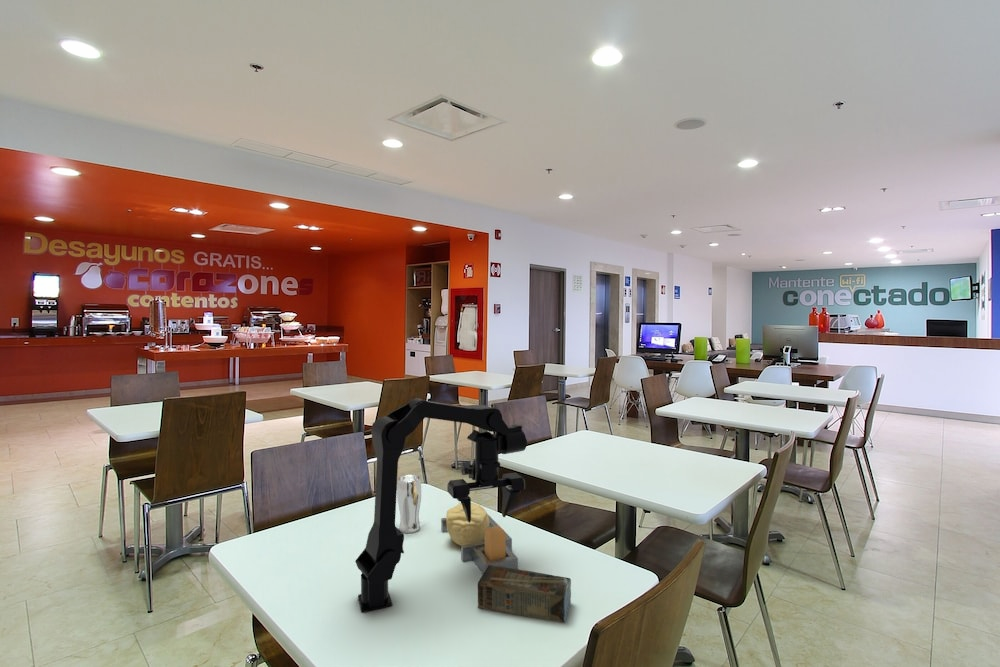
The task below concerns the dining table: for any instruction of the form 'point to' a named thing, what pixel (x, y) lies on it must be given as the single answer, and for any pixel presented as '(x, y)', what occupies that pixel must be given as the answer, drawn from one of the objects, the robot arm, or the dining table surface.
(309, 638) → the dining table surface
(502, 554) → the orange rectangular block
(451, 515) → the sculpture
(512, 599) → the beverage carton
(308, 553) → the dining table surface
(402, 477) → the beer glass
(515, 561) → the grey flat openwork piece
